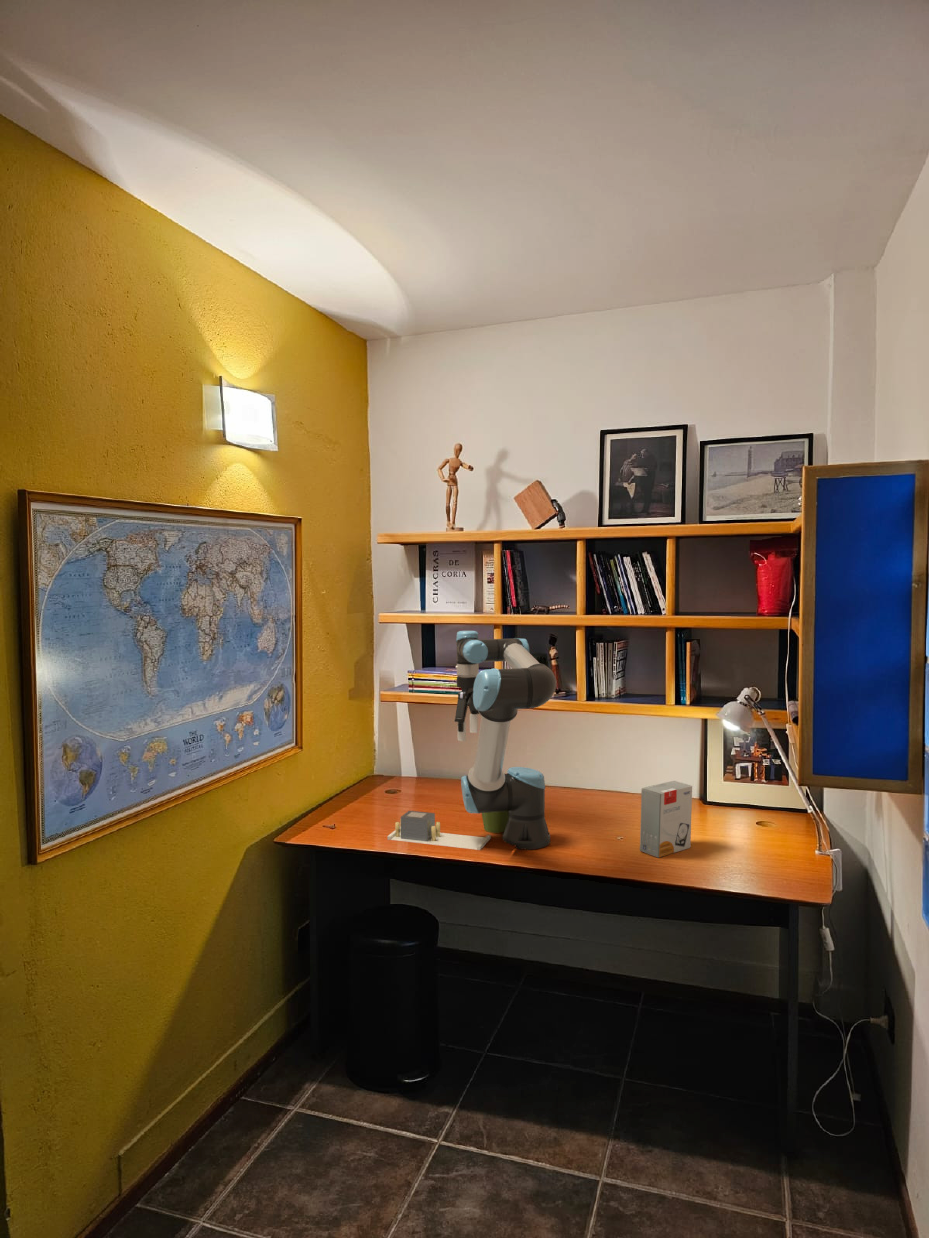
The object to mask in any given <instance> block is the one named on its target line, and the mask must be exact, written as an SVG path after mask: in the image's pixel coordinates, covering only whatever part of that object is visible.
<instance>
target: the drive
mask: <svg viewBox="0 0 929 1238" xmlns="http://www.w3.org/2000/svg"><path fill="white" fill-rule="evenodd" d="M400 819H401V839H409V840H418V841H428V840H429V839H430V838H431V826H436V814H435V812H426V811H419V810H418V811H416V810H408V811H407V812H406V813H404V814H403V815H401V816H400Z"/></svg>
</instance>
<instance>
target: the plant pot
mask: <svg viewBox="0 0 929 1238" xmlns="http://www.w3.org/2000/svg"><path fill="white" fill-rule="evenodd" d="M481 817H482V818H481V819H482V824H483V829H484V831H485V832H487V833H493V834H498V833H503V832H504V830H505V827H506V823H507V819H508V811H502V812H489V813H481Z"/></svg>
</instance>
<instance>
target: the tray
mask: <svg viewBox="0 0 929 1238" xmlns="http://www.w3.org/2000/svg"><path fill="white" fill-rule="evenodd" d="M399 820H400V822H399V821H396V822H395V824H394V826H395V827H394V828H395V829H394V831H392V832H391V833H390V834H388V835H387V841H389V840H390V841H399V842H407V843H415V844H425V845H433V846H442V847H450V848H458V849H459V848H460V849H467V850H468V849H469V850H474V851H475V850H476V851H477V850H478V851H481V850H482V849H483V848H484V847H485V845H486V844H487V843H488V842H489V841H490V840H491V835H490V834H487V835H486V836H485V837H484V836H476V835H474V836H473V835H465V834H455V833H449V832H448V833H446V832H441V822H440V821H435V826H431V838H430V839H429V840H428V841H418V840H409V839H401V818H400V819H399Z"/></svg>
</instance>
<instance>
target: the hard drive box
mask: <svg viewBox="0 0 929 1238" xmlns="http://www.w3.org/2000/svg"><path fill="white" fill-rule="evenodd" d="M640 796H641V798H640V799H641V803H640V838H639V851H640V852H642V853H645V854H648V855H649V856H653V857H654V858H661V857H666V856H668V855H671V854H674V853H678V852H680V851H681V852H682V851H685V850H688V849H690V848H691V844H692V843H691V841H692V836H691V835H692V810H693V809H692V808H693V807H692V803H693V800H692V799H693V785H691V784H688V783H683V782H679V781H677V780H671V781H666V782H662V783H658V784H654V785H650V786H645V787H642V788H641V795H640Z"/></svg>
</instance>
